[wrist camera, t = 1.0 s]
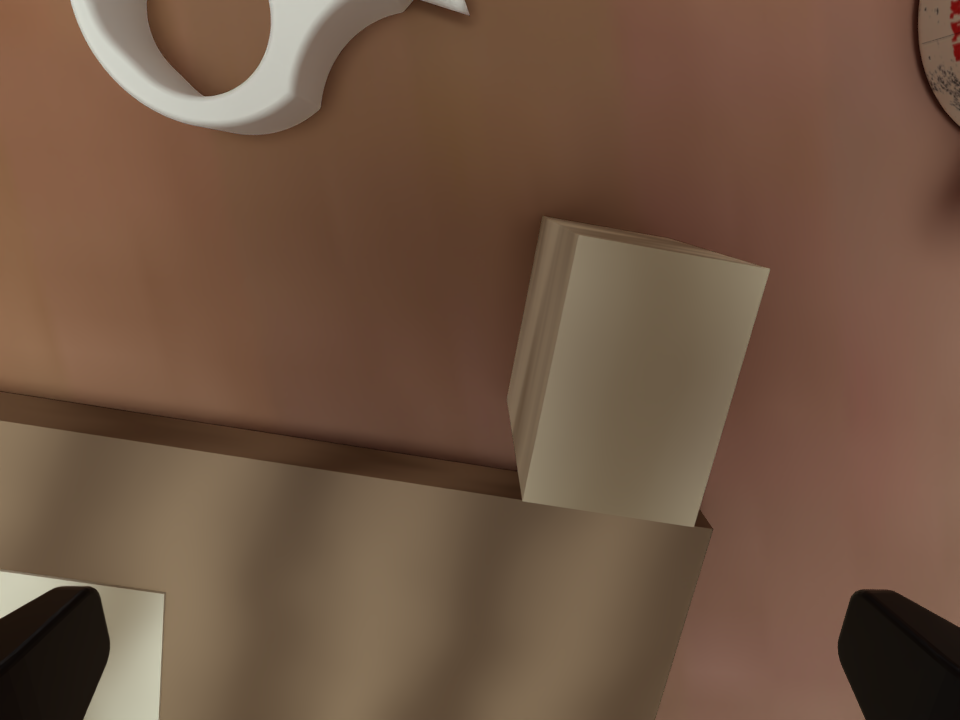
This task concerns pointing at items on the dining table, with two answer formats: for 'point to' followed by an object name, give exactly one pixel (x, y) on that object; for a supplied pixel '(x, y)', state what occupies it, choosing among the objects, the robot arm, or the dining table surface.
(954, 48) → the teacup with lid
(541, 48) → the dining table surface
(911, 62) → the dining table surface
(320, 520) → the walnut board
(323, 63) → the white muffin tray
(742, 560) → the dining table surface
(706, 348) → the block
